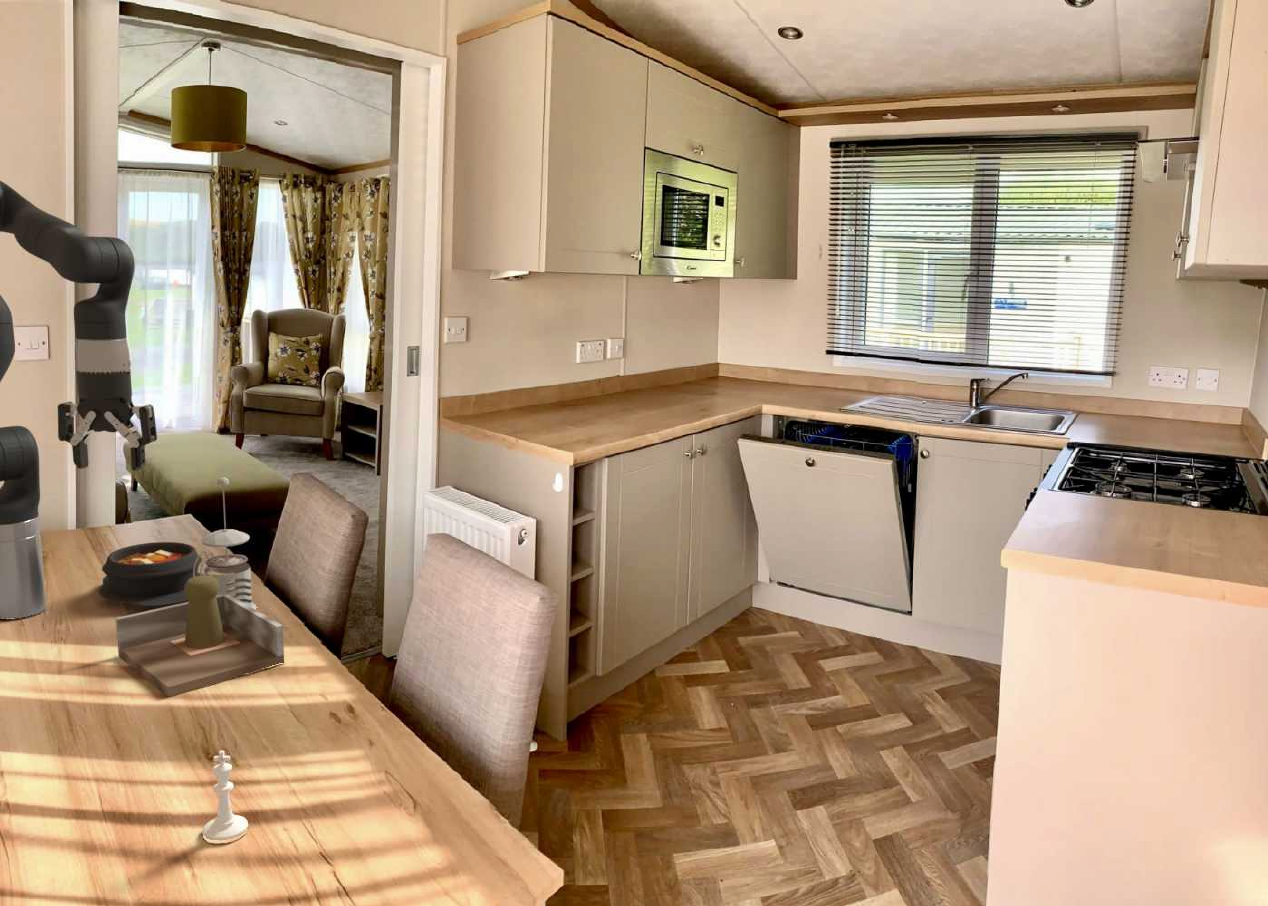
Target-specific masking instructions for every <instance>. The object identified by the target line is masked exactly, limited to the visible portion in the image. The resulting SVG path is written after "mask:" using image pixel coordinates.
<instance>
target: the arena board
mask: <svg viewBox="0 0 1268 906" xmlns="http://www.w3.org/2000/svg"><path fill="white" fill-rule="evenodd" d="M233 596H234V595H229V594H227V593H226V594H221V595H217V596H216V599H217V604H218V609H219V614H220V619H221V624H222V629H223V634H224V639H225V641H224V642H223V643H222V644H220V645H218V646H215V647H211V648H206V649H192V648H188V647H186V646H185V636H186V624H187V613H188V602H185V603H181V604H176V605H170V606H163V607H158V608H155V609H150V610H146V611H143V612H138V613H133V614H128V615H122V616H119V617H115V624H116V636H117V637H116V638H117V649H118V650H117V653H118V657H119V658H120V659H122V660H123V661H124V662H125V663H126V664H128V665H129V666H130V667H131V668H132V669H134V670H135V671H136V672H137V673H139V674H140V675H141V676H143V678H145V679H146V680H147V681H149V683H151V684H152V685H154V686H155V687H156V689H158V690H160V691H161V692H162V693H163V694H164V695H166V696H167V697H169V698H170V697H173V696H178V695H180V694H183V693H187V692H191V691H194V690H198V689H201V688H205V687H208V686H212V685H214V684H213V683H215V684H218V683H221V682H226V681H230V680H232V678H233V679H235V678H239V677H238V676H240V677H242V676H241V675H243V676H245V675H244V674H246V673H250V674H252V673H251V672H254V671H257V670H260V669H262V668H266V667H269V666H272V665H276V664H279V663H284V664H285V650H284V649H285V648H284V625H283V624H282V623H279V622H278V621H276V620H274V619H273V618H270V617H269V616H267V615H265V614H264V613H262V612H260V611H259V610H255V609H253V608H252V607H250V606H248V605H247V604H245V603H243V602H241V601H240V600H238V599H236V598H234V597H233ZM257 672H258V671H257ZM254 673H255V672H254ZM211 684H212V685H211ZM207 685H208V686H207Z"/></svg>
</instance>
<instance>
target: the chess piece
mask: <svg viewBox="0 0 1268 906" xmlns="http://www.w3.org/2000/svg"><path fill="white" fill-rule="evenodd" d="M212 758H213V759H212V760H213V762H219V763H218V764H216V765H214V766H213V768H212V772H213V774H214V776H215V779H216V782H217V783H215V784H214V785H213V788H212V790H213V792H214V793H217V794H218V805H217V814H216V815H217V816H216V817H215V818H213V819H211V820H209V821H208V822H207V823H206V824H204V827H203V828H202V834H203V835H204V836H205V837H206V838H207V839H210V840H220V841H221V840H227V839H231V838H234V837H237V836H240V835H241V834H242V833H243V832H244V831H245V830H246V829H247V827H248V826H249V823H248V822H249V821H248V820H247V818H245V817H244V816H242V815H238V814H234V813H233V811H232V809H233V808H232V805H231V799H230V795H229V792H230V791H232V790H233V789H234V783H233V782H232V781H229V779H230V776H231V772H232V770H233V765H232V764H231V763H230V761H231V755H225V750H219V752H218V755H214V756H213V757H212ZM228 762H229V763H228Z"/></svg>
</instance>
